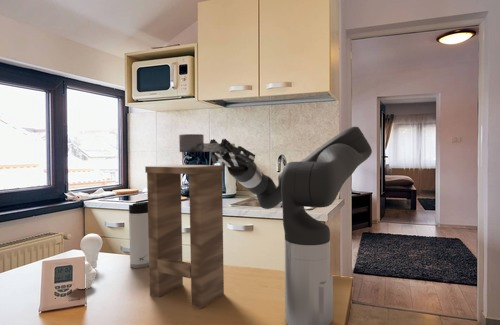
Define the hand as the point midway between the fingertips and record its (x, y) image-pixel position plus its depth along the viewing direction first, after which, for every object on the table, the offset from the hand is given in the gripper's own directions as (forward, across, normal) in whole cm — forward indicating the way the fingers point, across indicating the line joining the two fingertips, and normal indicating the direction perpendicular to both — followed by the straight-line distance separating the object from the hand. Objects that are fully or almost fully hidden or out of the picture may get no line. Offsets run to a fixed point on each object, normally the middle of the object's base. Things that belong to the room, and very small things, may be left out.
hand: (217, 141), depth 90 cm
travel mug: (-21, -31, +32) cm, 49 cm away
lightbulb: (-13, -41, +37) cm, 56 cm away
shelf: (-12, -4, +37) cm, 39 cm away
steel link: (+2, 0, +4) cm, 4 cm away
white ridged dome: (-4, -31, +42) cm, 52 cm away
